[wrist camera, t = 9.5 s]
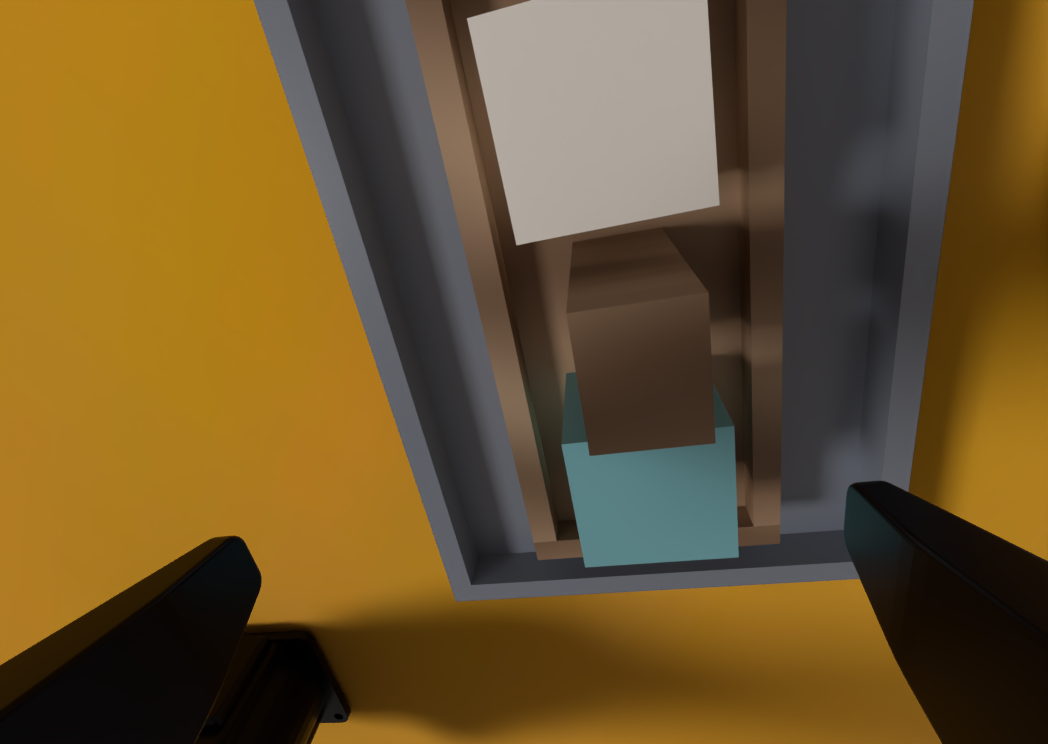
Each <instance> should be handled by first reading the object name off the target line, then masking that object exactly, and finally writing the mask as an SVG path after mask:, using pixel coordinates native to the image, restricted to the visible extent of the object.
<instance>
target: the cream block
mask: <svg viewBox="0 0 1048 744" xmlns="http://www.w3.org/2000/svg"><path fill="white" fill-rule="evenodd" d="M467 21H468V26H469V31H470V35H471V40H472V44H473V49H474V53H475V58H476V63H477V67H478V72H479V76H480V81H481V85H482V90H483V95H484V99H485V104H486V108H487V113H488V117H489V122H490V127H491V131H492V136H493V140H494V145H495V149H496V154H497V159H498V163H499V168H500V172H501V177H502V182H503V186H504V191H505V195H506V200H507V204H508V209H509V214H510V218H511V223H512V227H513V232H514V236H515V241H516V245H521V244H526V243H531V242H536V241H541V240H546V239H551V238H556V237H561V236H566V235H571V234H576V233H581V232H587V231H592V230H597V229H602V228H607V227H612V226H617V225H622V224H627V223H632V222H637V221H642V220H647V219H652V218H658V217H663V216H668V215H673V214H678V213H683V212H688V211H693V210H698V209H703V208H708V207H713V206H718V205H720V204H719V188H718V171H717V154H716V137H715V121H714V104H713V87H712V70H711V54H710V37H709V20H708V3H707V0H530V1H527V2H523V3H520V4H516V5H513V6H509V7H505V8H502V9H498V10H495V11H491V12H488V13H484V14H481V15H477V16H474V17H470V18H467Z"/></svg>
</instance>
